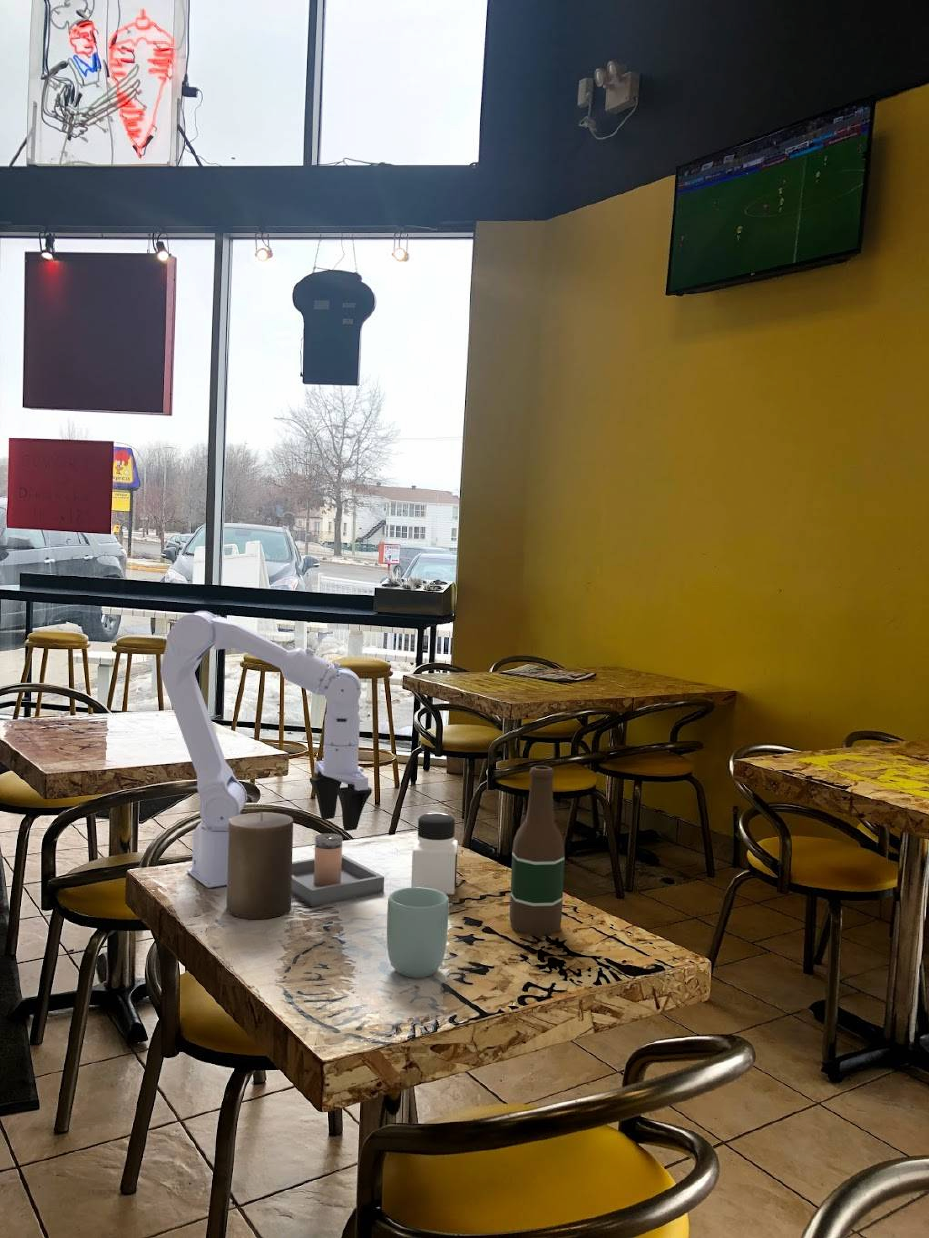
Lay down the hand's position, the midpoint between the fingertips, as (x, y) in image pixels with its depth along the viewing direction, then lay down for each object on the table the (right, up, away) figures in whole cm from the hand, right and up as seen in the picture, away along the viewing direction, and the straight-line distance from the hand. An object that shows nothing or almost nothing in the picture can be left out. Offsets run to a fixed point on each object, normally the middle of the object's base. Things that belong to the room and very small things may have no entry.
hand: (338, 824), depth 165 cm
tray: (-2, -10, -3) cm, 10 cm away
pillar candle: (-10, -10, -14) cm, 20 cm away
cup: (+14, -13, -34) cm, 39 cm away
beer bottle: (+31, -12, -17) cm, 37 cm away
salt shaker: (-2, -9, -3) cm, 10 cm away
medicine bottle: (+16, -10, -1) cm, 19 cm away
